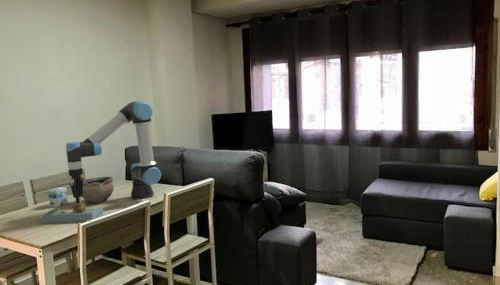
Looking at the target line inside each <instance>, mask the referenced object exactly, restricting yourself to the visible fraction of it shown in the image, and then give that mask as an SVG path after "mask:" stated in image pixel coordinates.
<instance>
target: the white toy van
mask: <svg viewBox="0 0 500 285" xmlns="http://www.w3.org/2000/svg"><path fill="white" fill-rule="evenodd" d="M47 194H48V202H49V203H48V204H49V207H50V208H60V207H62V206H65V205H66V203H67V204H68V203H69V198H68V197H69V196H68V188H67V186H66V187H64V186H63V187H61V186H60V187H56V188H52V189H49V190H47Z"/></svg>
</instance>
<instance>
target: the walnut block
mask: <svg viewBox="0 0 500 285" xmlns="http://www.w3.org/2000/svg"><path fill="white" fill-rule="evenodd" d="M86 209H87V208H86V203H85V201H84V202H83V201H82V202H79V203H76V202H75V203H73V204H72V211H73V213H83V212H84V211H86Z"/></svg>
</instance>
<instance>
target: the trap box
mask: <svg viewBox="0 0 500 285" xmlns="http://www.w3.org/2000/svg"><path fill="white" fill-rule="evenodd" d="M85 209H86V211H84V212H83V213H73V210H72V211H71V212H66V210H65V209H61V210H59V207H54V208H53V209H50V210H49V211H47V212H45V213H44V214H42V215H41V223H42V224H56V223H58V224H60V223H79V222H80V223H81V222H82V223H84V222H83V221H87V220H91V219H94V218H97V217H98V218H99V217H101V216H103V215H104V208H88V209H87V208H85ZM98 218H97V219H98Z"/></svg>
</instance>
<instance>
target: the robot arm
mask: <svg viewBox="0 0 500 285" xmlns="http://www.w3.org/2000/svg"><path fill="white" fill-rule="evenodd" d="M153 114H154V113H153V108H152V105H151V104H149V103H148V102H147V101H143V100H139V101H131V102H129V103H127V104H126V105H124V107H122V108H121V109H120V110H119V111H117V114H116V115H115V116H114V117H112V118H111V119H110V120H108V121H107V122H106V123H105V124H104V125H102V126H101V127H99V128H98V129H97V130H95V132H93V133H91V135H89V136H88V137H87V138H86V139H84V140H83V141H80V142H79V141H70V142H67V143H66V144H65V151H66V152H65V153H66V159H67V160H66V161H67V167H68V176H69V177H71V180H70V181H71V182H70V181H69V186H70V189H71V193H72V197H73V198H75V203H79V202H83V201H82V197H81V196H83V195H82V194H83V180H84V177H82V175H83V174H84V173H83V162H82V158H87V157H96V156H101V155H102V152H103V149H102V145H101V144H102V143H103V142H104V141H105V140H107V139H108V138H109V137H110V136H112V135H113V134H115V132H117V130H119V129H121V128H122V127H123V126H124V125H125V124H129V123H130V122H132V125H133V126H135V132H136V140H137V145H138V146H137V147H138V152H139V161H140V162H138V163H133V164H131V166H130V174H131V180H132V181H131V182H132V187H131V192H130V199H132V200H143V199H144V200H145V199H148V198H147V197H149V198H151V197H150V196H152V195H154V196H155V193H154V189H153V187H152V186H153V185H156V184H157V183H159V181H160V179H161V178H162V172H161V170H160V169H159V168H158V162H157V161H155V158H154V151H153V144H152V143H153V142H152V136H151V129H150V123H151V122H152V116H153ZM152 197H153V196H152Z"/></svg>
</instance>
